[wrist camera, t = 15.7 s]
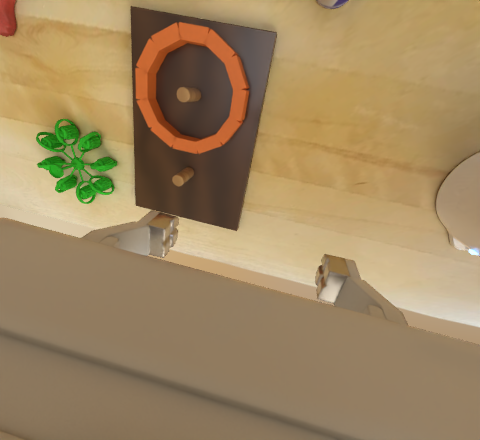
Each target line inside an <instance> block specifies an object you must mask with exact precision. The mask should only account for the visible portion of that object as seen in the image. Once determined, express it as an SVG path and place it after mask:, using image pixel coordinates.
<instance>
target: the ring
mask: <svg viewBox="0 0 480 440" xmlns="http://www.w3.org/2000/svg"><path fill="white" fill-rule="evenodd" d="M151 37H152V39H150V38H149V40H148V42H147V44H146V46H145V48H144V50H143V52H142V54H141V56H140V58H139V60H138V62H137V64H136V66H137V67H139V68H135V75H136V99H140V100H138V101H137V103H138V105H139V107H140V110H141V112H142V114H143V116H144V118H145V120H146V123H147V125H148V127H149V128H151V127H152V128H151V131H152V132H154V133H155V134H156V135H157V136H158V137H159V138H160V139H162V140H163V141H164V142H165V143H166V144H167V145H169V146H170V147H173V149H177V150H182V151H186V152H190V153H195V154H197V153H199V154H200V153H203V152H206V151H209V150H212V149H215V148H217V147H220V146H222V145H224V144H225V143H226V142H228V141H229V139H230V138H231V137H232V136H233V134H234V133H235V132H236V131H237V129H238V128H239V127H240V126H241V124H242V123H243V121H242V120H244V119H245V113H246V108H247V102H248V96H249V90H246V89H248V88H249V85H248V82H247V79H246V75H245V72H244V69H243V65H242V62H241V59H240V57H239V56H238V54H237V53H236V52H235V51H234V50H233V49H232V48H231V47H230V46H229V45H228V44H227V43H226V42H225V41H224V40H223V39H222V38H221V37H220V36H219V35H218V34H217V33H216V32H215V31H213V30H212V29H210V28H209V27H204V26H199V25H193V24H188V23H182V22H179V24H178V23H177V22H176V23H174V24H172V25H170V26H169V27H167V28H165V29H163V30H161V31H160V32H158V33H156V34H154V35H152V36H151ZM187 43H190V44H195V45H200V46H206V47H208V48H209V49H210V50H211V51H212V52H213V53H214V54H215V55H216V56H217V57H218V58H219V59H220V60H221V61H222V62H223V63H224V64H225V67H226V70H227V73H228V76H229V79H230V82H231V85H232V88H233V95H232V102H231V109H230V116H229V117H228V119H227V120H226V121H225V123H224V124H223V125H222V127H221V128H220V129H219V131H218V132H217V133H216V134H214V135H211V136H208V137H206V138H203V139H199V138H194V137H190V136H185V135H182V134H180V133H179V132H178V131H177V130H176V129H175V128H174V127H173V126H171V125H170V124H169V123H168V122H167V121H166V120H165V118H164V116H163V114H162V111H161V109H160V107H159V104H158V102H157V100H156V73H157V72H158V70H159V68H160V66H161V64H162V62H163V61H164V59H165V57H166V55H167V53H169V52H171V51H173V50H175V49H177V48H179V47H181V46H183V45H185V44H187Z"/></svg>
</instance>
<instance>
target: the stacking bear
mask: <svg viewBox="0 0 480 440" xmlns="http://www.w3.org/2000/svg"><path fill="white" fill-rule="evenodd" d="M15 1H16V0H0V35H2V36H6V37H7V36H9V35H10V36H12V35H13V34H14V32H15V30H16V20H15V15H14V5H15Z"/></svg>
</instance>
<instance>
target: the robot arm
mask: <svg viewBox="0 0 480 440" xmlns="http://www.w3.org/2000/svg"><path fill="white" fill-rule="evenodd" d="M436 211H437V215H438V217H439V219H440V221H441V223H442V224H443V225H444V226H445V227H446V229H447V230H448V232H449V240H450V244H451V245H452V246H453V247H454V248H456V249H458V250H465V251H469V252H470V253H471V254H474V255H478V256H479V257H480V152H479V153H476V154H475V155H473V156H471V157H469V158H468V159H466V160H465V161H463V162H462V163H461V164H459V165H458V166H457V167H456V168H455V169H454V170H453V171H452V172H451V173H450V174H449V175H448V176H447V178H446V179H445V180H444V182H443V184H442V185H441V187H440V189H439V192H438V195H437V199H436ZM178 224H179V218H178V217H176V216H172V215H169V214H165V213H161V212H158V211H152V210H151V211H150V212H149V213H148V214H146V215H145V216H144V217H143V218H142V219H140V220H139V221H138V222H130V223H126V224H121V225H117V226H112V227H107V228H103V229H98V230H93V231H91V232H89V233H88V234H86V235H85V236H84V237H82V238H78V237H74V236H70V235H66V234H63V233H59V232H56V231H52V230H48V229H44V228H41V227H37V226H33V225H29V224H26V223H22V222H19V221H15V220H12V219H8V218H0V440H480V345H479V344H475V343H471V342H468V341H463V340H460V339H456V338H453V337H449V336H445V335H441V334H438V333H434V332H430V331H426V330H423V329H419V328H415V327H411V326H408V323H407V321H406V320H405V317H404V315H403V314H402V312H401V311H399V310H398V309H397V308H396V307H395V306H394V305H392V304H391V303H390V302H389V301H388V300H387V299H385V298H384V297H383V296H382V295H381V294H380V293H378V292H377V291H376V290H375V289H374V288H373V287H371V286H370V285H369V284H368V283H367V282H366V281H364V280H361V277H360V275H359V272H358V269H357V267H356V264H355V261H353V260H349V259H345V258H340V257H336V256H331V255H327V254H324V256H323V257H322V260H321V262H322V265H321V266H319V267H318V270H317V272H316V277H315V282H316V285H317V286H318V287H317V298H318V299H320V300H323V301H327V302H330V303H333V304H334V305H335V306H333V305H329V304H325V303H322V302H318V301H313V300H310V299H307V298H303V297H299V296H295V295H292V294H288V293H284V292H280V291H277V290H273V289H269V288H265V287H261V286H257V285H254V284H250V283H247V282H243V281H239V280H235V279H231V278H228V277H224V276H220V275H217V274H213V273H209V272H205V271H202V270H198V269H194V268H190V267H186V266H183V265H179V264H175V263H172V262H168V261H164V260H160V259H157V258H153V257H149V256H148V255H153V256H158V257H162V258H164V257H165V256H166V255H167V253H168V252H169V248H170V247H173V246H174V244H175V242H176V240H177V236H178V230H177V228H176V227H177V226H178Z"/></svg>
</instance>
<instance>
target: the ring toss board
mask: <svg viewBox="0 0 480 440" xmlns="http://www.w3.org/2000/svg"><path fill="white" fill-rule="evenodd" d="M176 22H177V23H178V24H179V22H182V23H188V24H193V25H199V26H204V27H209V28H210V29H212V30H213V31H215V32H216V33H217V34H218V35H219V36H220V37H221V38H222V39H223V40H224V41H225V42H226V43H227V44H228V45H229V46H230V47H231V48H232V49H233V50H234V51H235V52H236V53H237V54H238V56H239V57H240V59H241V62H242V65H243V69H244V72H245V75H246V79H247V82H248V85H249V88H248V89H246V90H249V96H248V102H247V108H246V113H245V119H244V120H242V121H243V123H242V124H241V126H240V127H239V128H238V129H237V131H236V132H235V133H234V134H233V136H232V137H231V138H230V139H229V141H228V142H226V143H225V144H224V145H222V146H220V147H217V148H215V149H212V150H209V151H206V152H203V153H200V154H199V153H197V154H195V153H190V152H186V151H182V150H177V149H173V147H170V146H169V145H167V144H166V143H165V142H164V141H163V140H162V139H160V138H159V137H158V136H157V135H156V134H155V133H154V132H152V131H151V128H152V127H151V128H149V127H148V125H147V123H146V120H145V118H144V116H143V114H142V112H141V110H140V107H139V105H138V103H137V101H138V100H140V99H136V75H135V68H139V67H137V66H136V64H137V62H138V60H139V58H140V56H141V54H142V52H143V50H144V48H145V46H146V44H147V42H148V40H149V38H150V39H152V37H151V36H152V35H154V34H156V33H158V32H160V31H161V30H163V29H165V28H167V27H169V26H170V25H172V24H174V23H176ZM276 37H277V33H276V32H271V31H265V30H260V29H254V28H249V27H243V26H238V25H232V24H227V23H221V22H216V21H210V20H204V19H199V18H193V17H188V16H182V15H177V14H171V13H166V12H160V11H155V10H149V9H144V8H138V7H133V6H131V39H132V78H133V117H134V156H135V195H136V206H140V207H144V208H148V209H152V210H156V211H160V212H164V213H168V214H172V215H176V216H180V217H184V218H188V219H192V220H195V221H199V222H203V223H207V224H211V225H215V226H219V227H223V228H227V229H231V230H235V231H237V230H238V227H239V222H240V217H241V212H242V207H243V202H244V197H245V192H246V187H247V182H248V177H249V172H250V167H251V162H252V157H253V152H254V147H255V142H256V137H257V132H258V127H259V122H260V117H261V112H262V107H263V102H264V97H265V92H266V87H267V82H268V77H269V72H270V67H271V62H272V57H273V52H274V47H275V42H276ZM232 95H233V88H232V85H231V82H230V79H229V76H228V73H227V70H226V67H225V64H224V63H223V62H222V61H221V60H220V59H219V58H218V57H217V56H216V55H215V54H214V53H213V52H212V51H211V50H210V49H209V48H208V47H206V46H200V45H195V44H190V43H187V44H185V45H183V46H181V47H179V48H177V49H175V50H173V51H171V52H169V53H167V55H166V57H165V59H164V61H163V62H162V64H161V66H160V68H159V70H158V72H157V73H156V100H157V102H158V104H159V107H160V109H161V111H162V114H163V116H164V118H165V120H166V121H167V122H168V123H169V124H170V125H171V126H173V127H174V128H175V129H176V130H177V131H178V132H179V133H180V134H182V135H185V136H190V137H194V138H199V139H203V138H206V137H208V136H211V135H214V134H216V133H217V132H218V131H219V129H220V128H221V127H222V125H223V124H224V123H225V121H226V120H227V119H228V117H229V116H230V109H231V102H232Z"/></svg>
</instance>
